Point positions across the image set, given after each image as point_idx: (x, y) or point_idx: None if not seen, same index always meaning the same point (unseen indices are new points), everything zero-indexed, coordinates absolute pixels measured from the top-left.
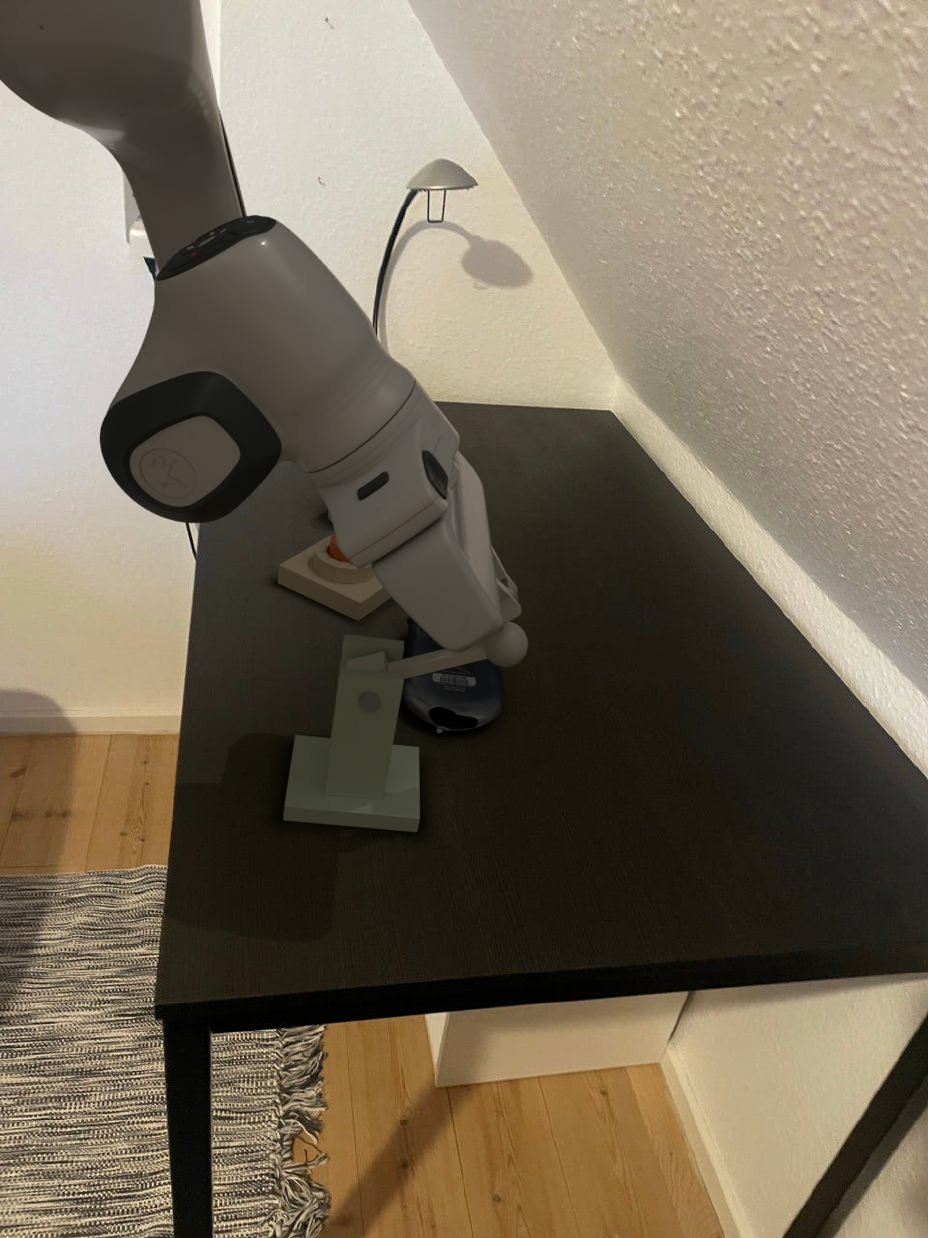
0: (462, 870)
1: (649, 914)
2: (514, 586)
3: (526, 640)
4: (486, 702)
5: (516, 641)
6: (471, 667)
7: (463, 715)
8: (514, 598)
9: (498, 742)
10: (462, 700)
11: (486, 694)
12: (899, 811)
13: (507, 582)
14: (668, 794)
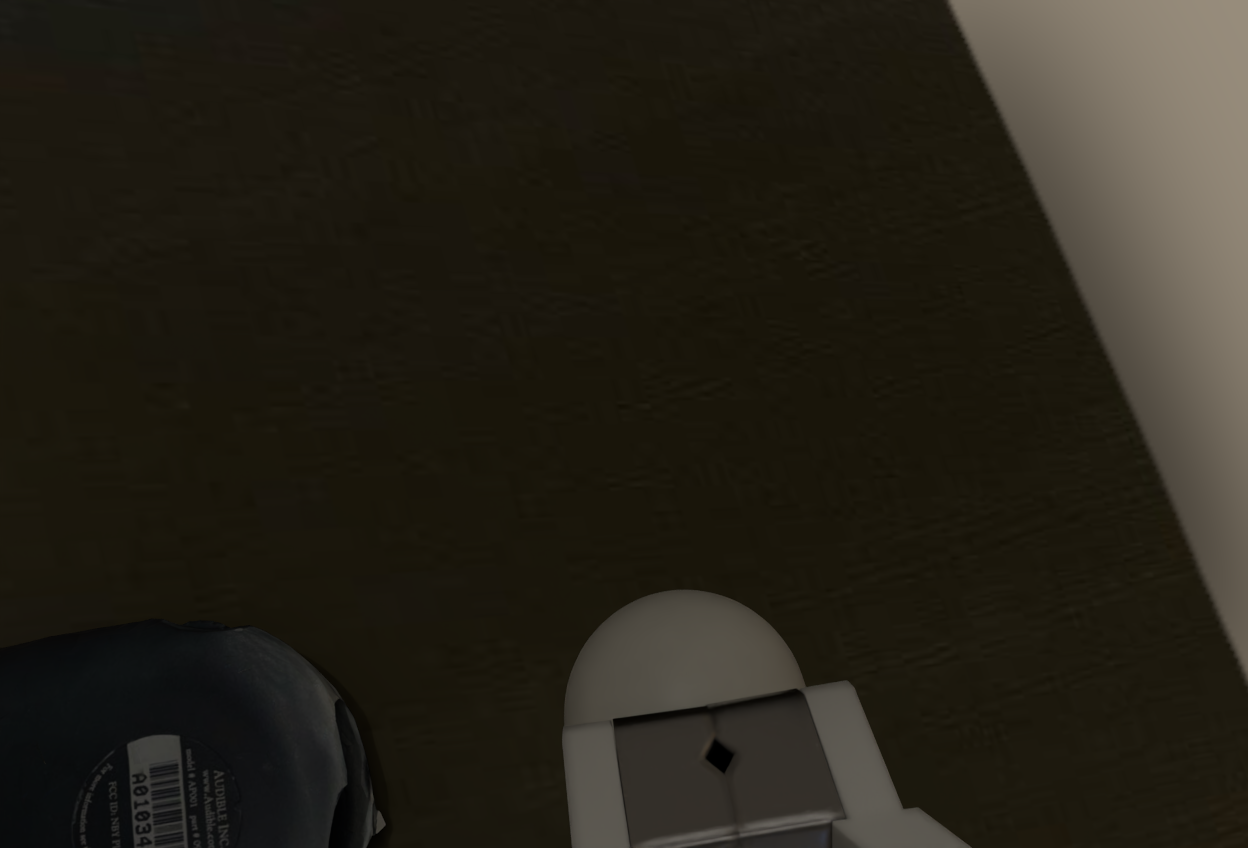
0: (920, 672)
1: (909, 190)
2: (619, 761)
3: (705, 603)
4: (261, 683)
5: (771, 661)
6: (65, 761)
7: (342, 756)
8: (836, 754)
9: (359, 616)
10: (278, 772)
11: (217, 687)
12: None
13: (719, 837)
14: (456, 113)
